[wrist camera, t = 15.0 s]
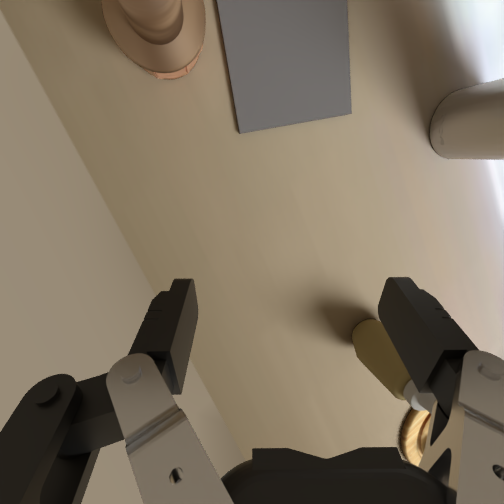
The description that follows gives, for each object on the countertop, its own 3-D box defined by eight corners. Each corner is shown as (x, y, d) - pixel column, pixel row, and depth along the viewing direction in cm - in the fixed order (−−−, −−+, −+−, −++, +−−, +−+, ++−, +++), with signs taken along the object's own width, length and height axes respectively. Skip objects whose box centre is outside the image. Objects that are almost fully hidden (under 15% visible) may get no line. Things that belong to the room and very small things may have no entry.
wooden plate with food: (551, 377, 63) (599, 407, 56) (472, 475, 71) (505, 513, 63) (450, 343, 55) (489, 373, 47) (373, 457, 63) (396, 499, 55)
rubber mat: (342, -42, 31) (345, -46, 30) (349, 114, 37) (351, 113, 36) (211, -26, 29) (211, -30, 29) (239, 133, 35) (240, 133, 35)
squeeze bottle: (353, 358, 51) (427, 457, 34) (339, 326, 48) (412, 418, 31) (392, 337, 51) (485, 426, 34) (380, 304, 48) (475, 384, 31)
